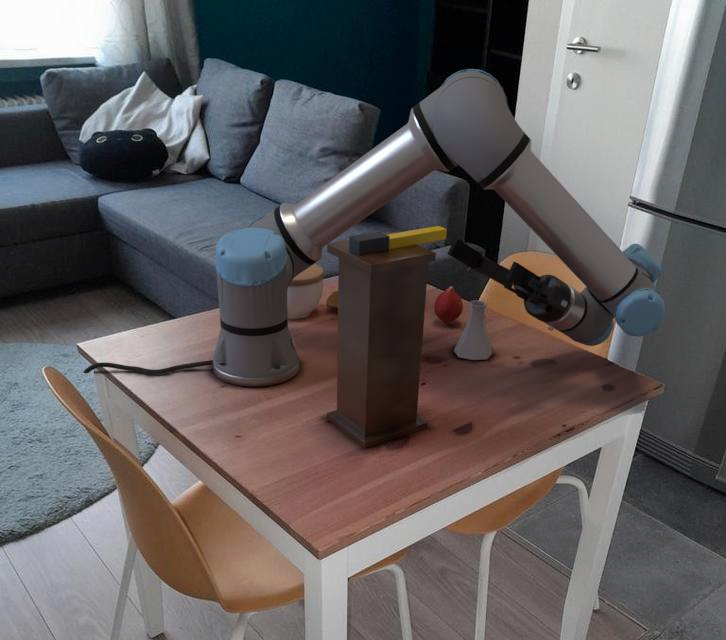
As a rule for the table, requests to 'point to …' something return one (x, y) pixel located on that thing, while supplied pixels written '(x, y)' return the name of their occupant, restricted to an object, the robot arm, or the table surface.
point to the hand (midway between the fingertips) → (480, 258)
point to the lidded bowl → (305, 292)
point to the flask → (474, 335)
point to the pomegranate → (448, 306)
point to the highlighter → (394, 240)
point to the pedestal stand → (379, 341)
